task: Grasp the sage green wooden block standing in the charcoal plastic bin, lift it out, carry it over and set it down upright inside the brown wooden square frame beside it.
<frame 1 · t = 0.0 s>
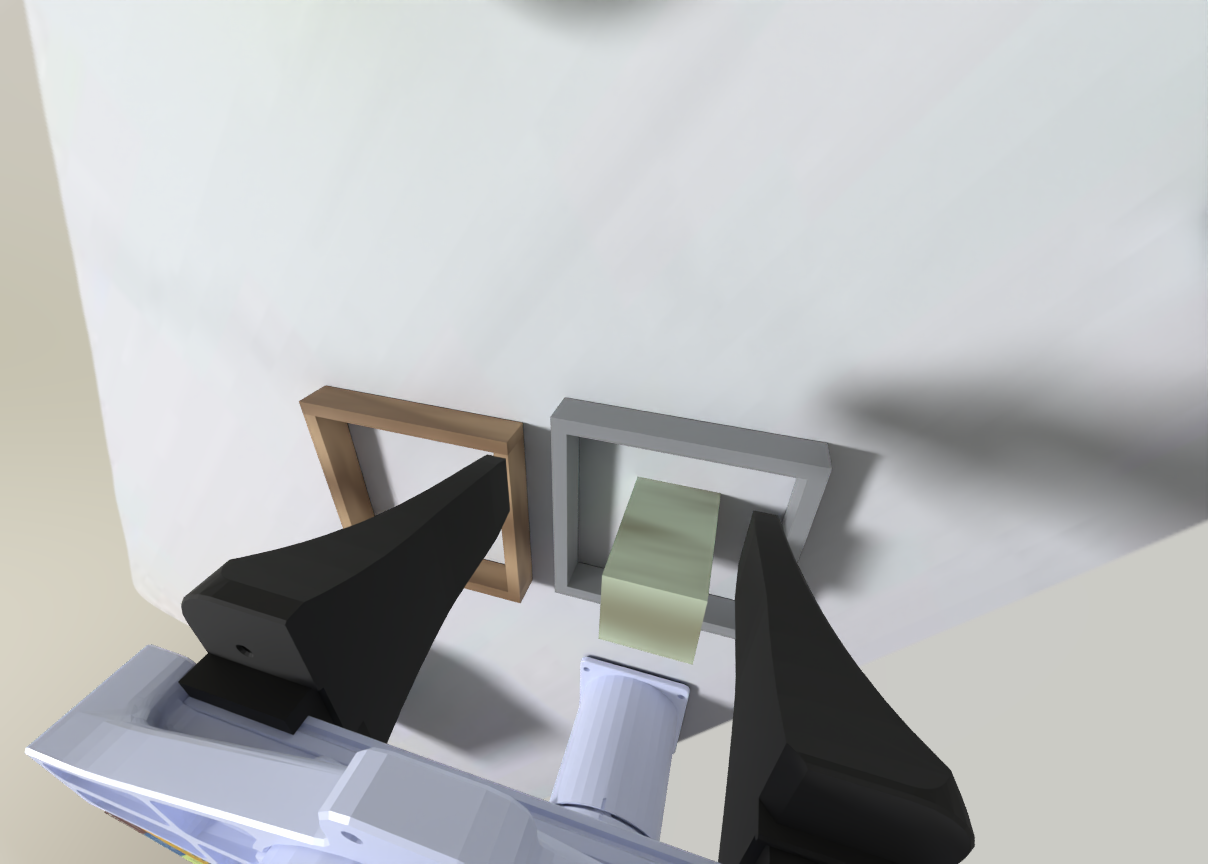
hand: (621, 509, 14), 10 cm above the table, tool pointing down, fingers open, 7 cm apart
sage block: (673, 515, 27), resting in charcoal bin
brown wooden square frame: (435, 489, 31), on the table
protein box: (331, 650, 48), on the table
charcoal bin: (673, 516, 27), on the table
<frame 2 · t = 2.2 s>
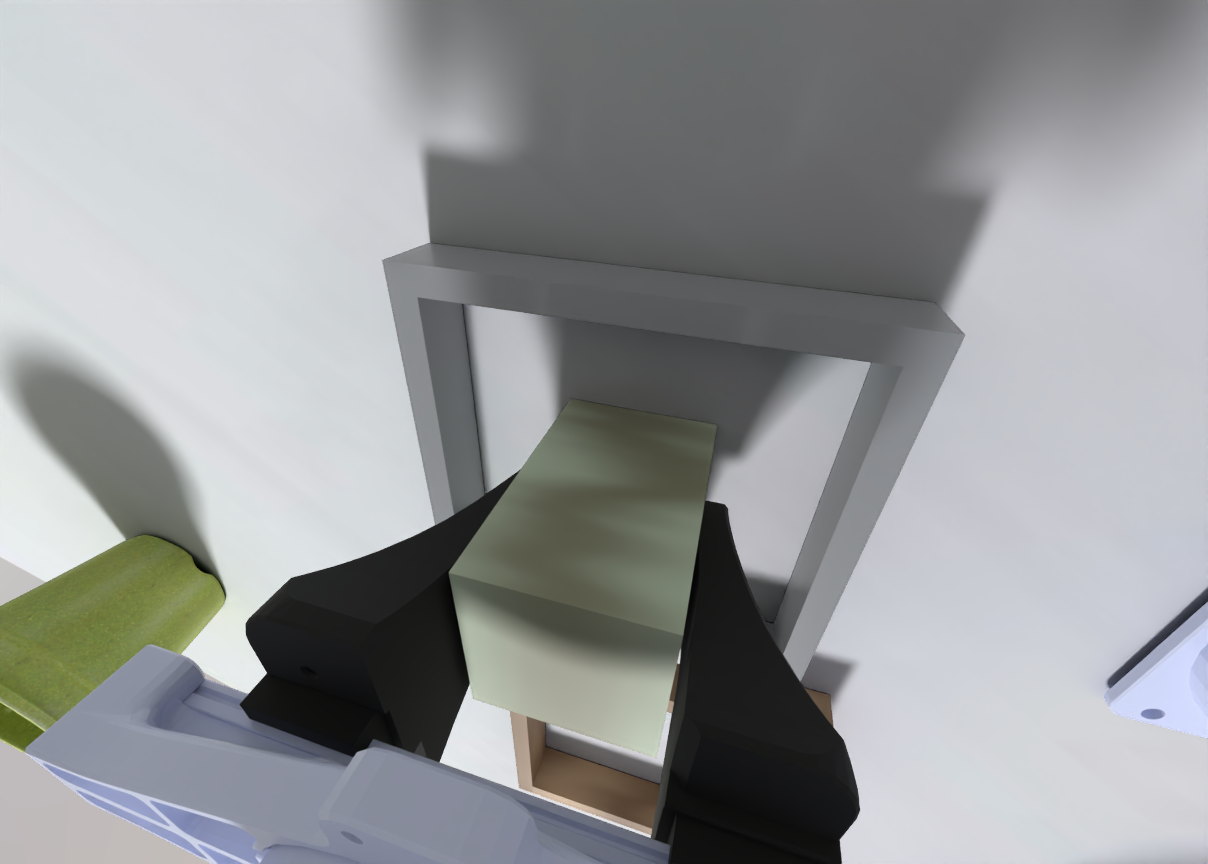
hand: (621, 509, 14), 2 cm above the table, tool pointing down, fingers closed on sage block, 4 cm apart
sage block: (635, 470, 16), resting in charcoal bin, touching gripper
brown wooden square frame: (651, 727, 23), on the table
charcoal bin: (635, 471, 16), on the table
plant pot: (185, 569, 29), on the table
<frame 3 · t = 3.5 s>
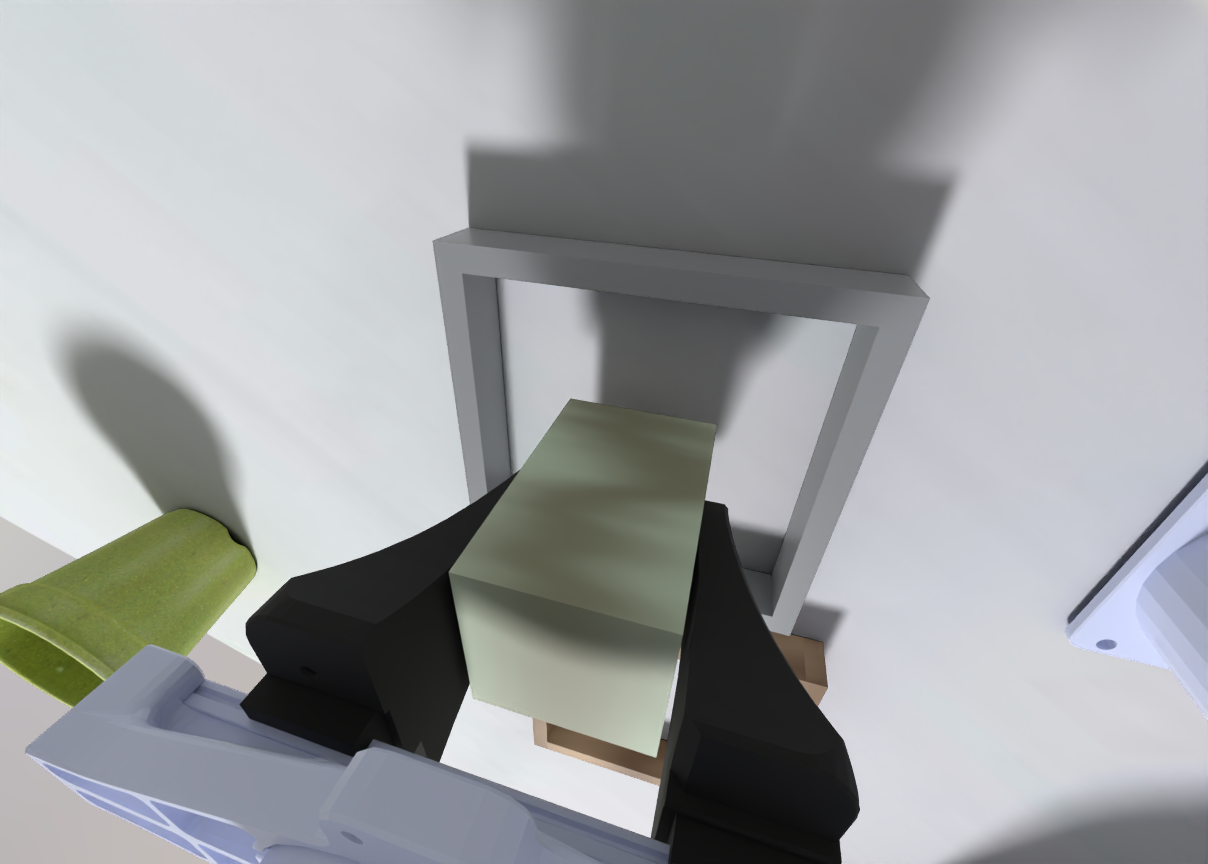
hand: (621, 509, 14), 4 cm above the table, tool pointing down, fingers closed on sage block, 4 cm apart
sage block: (635, 470, 16), point 2 cm above the table, touching gripper
brown wooden square frame: (659, 682, 25), on the table
charcoal bin: (648, 433, 17), on the table
plant pot: (219, 542, 30), on the table
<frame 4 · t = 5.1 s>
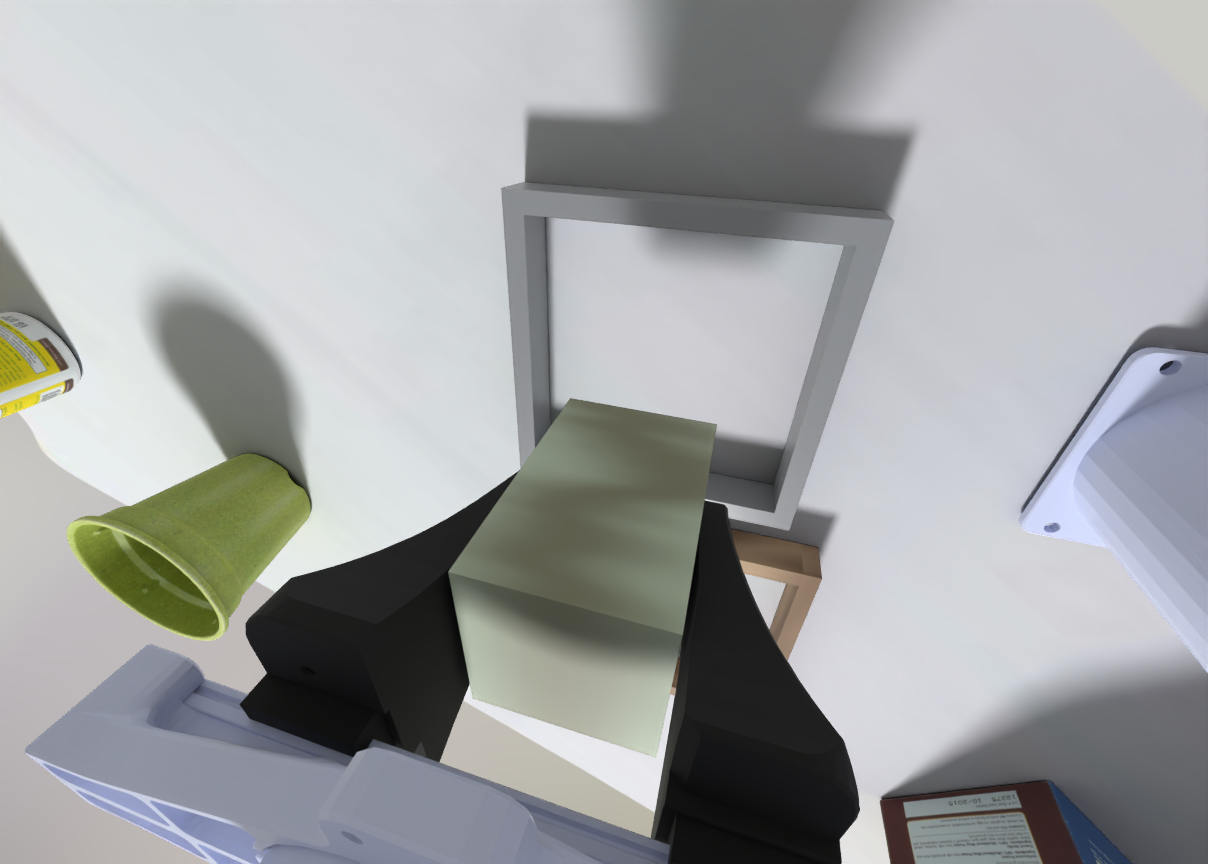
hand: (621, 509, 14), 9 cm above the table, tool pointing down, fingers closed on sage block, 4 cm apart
sage block: (635, 470, 16), point 7 cm above the table, touching gripper
brown wooden square frame: (674, 599, 29), on the table
protein box: (1020, 845, 32), on the table
charcoal bin: (669, 358, 21), on the table
supplement bottle: (52, 348, 33), on the table
plant pot: (277, 486, 34), on the table
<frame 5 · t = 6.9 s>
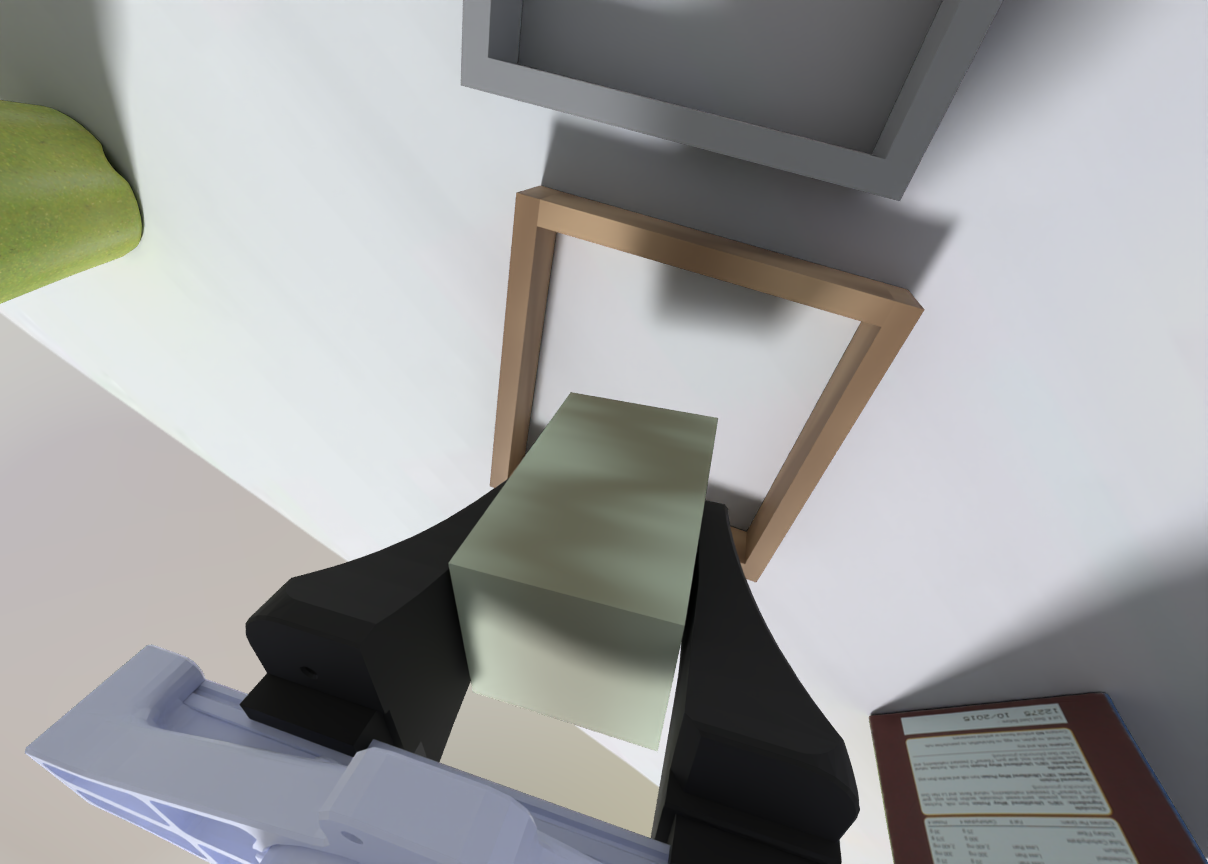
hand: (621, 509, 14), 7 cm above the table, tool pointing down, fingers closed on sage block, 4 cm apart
sage block: (636, 464, 15), point 5 cm above the table, touching gripper
brown wooden square frame: (664, 394, 20), on the table
protein box: (1025, 781, 27), on the table
plant pot: (92, 185, 23), on the table
when the fingers open (3 cm above the table, at t = 8.1 s): sage block drops 1 cm, resting in brown wooden square frame.
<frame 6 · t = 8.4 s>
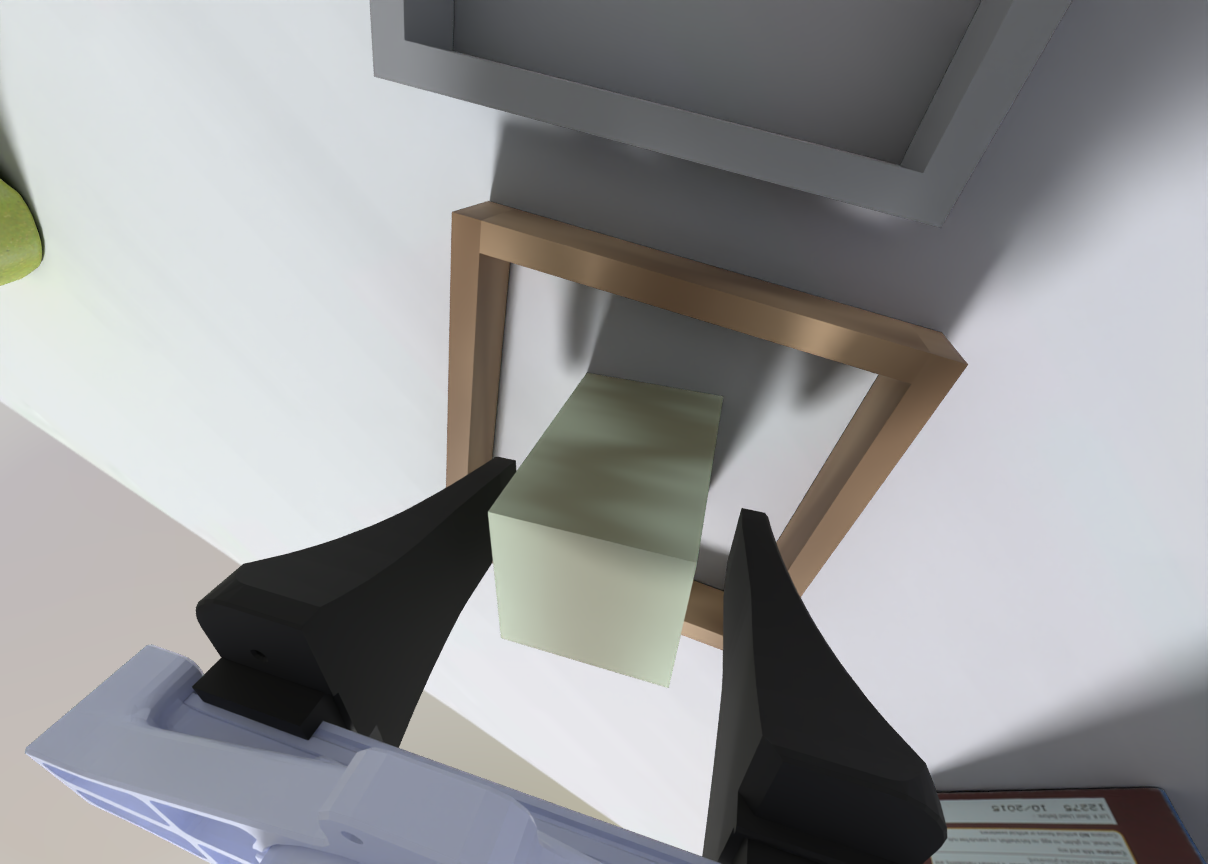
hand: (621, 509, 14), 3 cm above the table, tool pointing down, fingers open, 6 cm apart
sage block: (646, 441, 17), resting in brown wooden square frame
brown wooden square frame: (645, 445, 17), on the table
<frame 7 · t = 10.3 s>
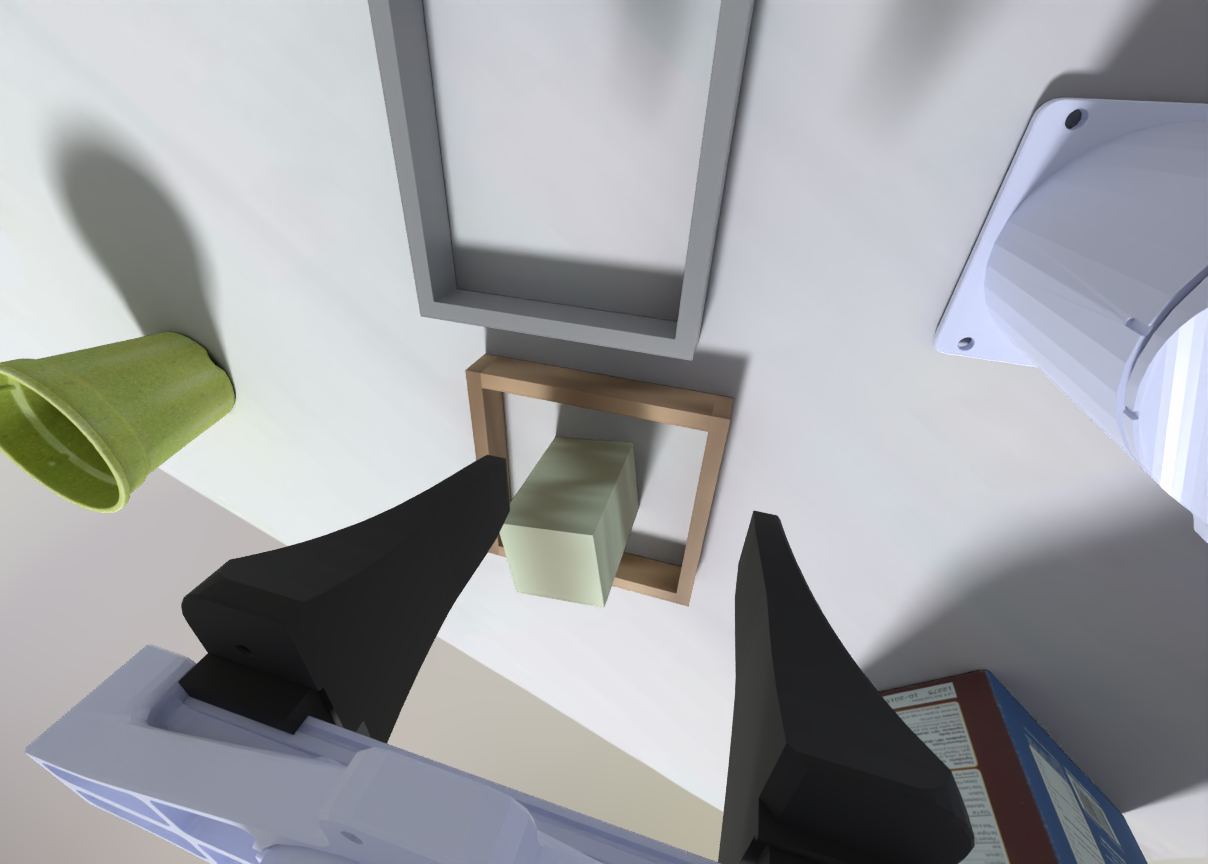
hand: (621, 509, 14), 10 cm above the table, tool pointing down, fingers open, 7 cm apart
sage block: (597, 472, 27), resting in brown wooden square frame
brown wooden square frame: (597, 475, 27), on the table
protein box: (963, 752, 31), on the table
charcoal bin: (564, 169, 19), on the table
plant pot: (200, 373, 33), on the table
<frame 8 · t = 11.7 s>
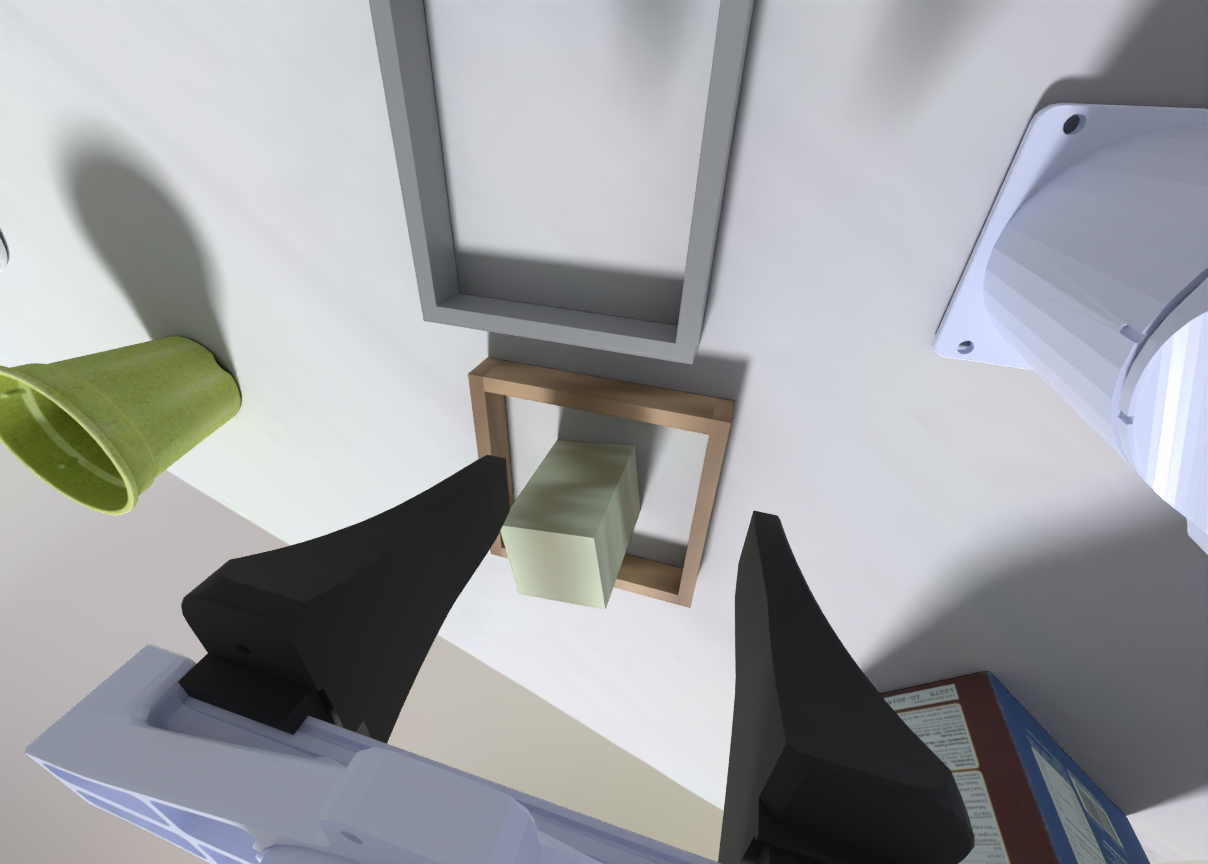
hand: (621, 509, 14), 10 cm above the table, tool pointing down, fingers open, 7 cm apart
sage block: (599, 475, 27), resting in brown wooden square frame
brown wooden square frame: (599, 477, 27), on the table
protein box: (966, 754, 31), on the table
charcoal bin: (565, 175, 20), on the table
plant pot: (207, 376, 33), on the table
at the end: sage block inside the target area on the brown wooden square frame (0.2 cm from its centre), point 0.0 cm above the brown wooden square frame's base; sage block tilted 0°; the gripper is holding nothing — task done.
